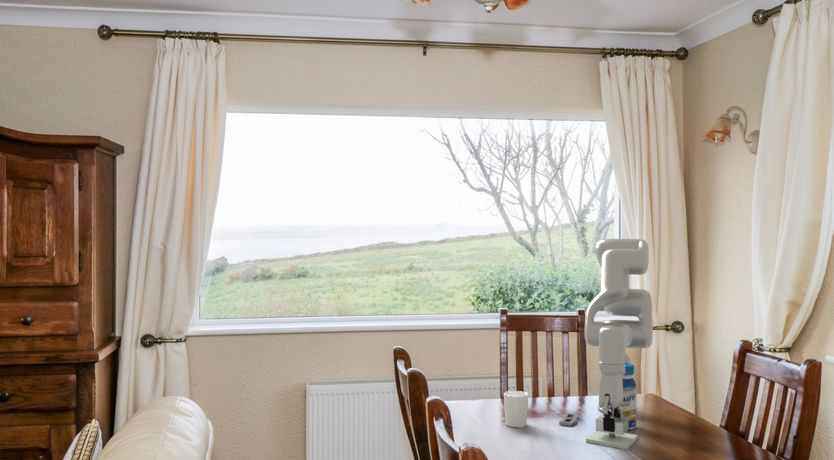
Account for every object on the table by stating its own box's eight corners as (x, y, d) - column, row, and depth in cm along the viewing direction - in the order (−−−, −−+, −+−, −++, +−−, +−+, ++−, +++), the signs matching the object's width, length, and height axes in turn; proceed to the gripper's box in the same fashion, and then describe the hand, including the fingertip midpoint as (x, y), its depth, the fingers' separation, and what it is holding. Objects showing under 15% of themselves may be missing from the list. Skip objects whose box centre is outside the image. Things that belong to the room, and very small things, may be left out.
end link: (595, 431, 198) (595, 419, 198) (601, 426, 203) (601, 414, 203) (622, 435, 194) (622, 423, 194) (628, 430, 199) (628, 418, 199)
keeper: (598, 432, 207) (598, 412, 207) (637, 438, 200) (637, 418, 200) (586, 442, 196) (586, 422, 196) (627, 449, 190) (627, 428, 190)
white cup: (527, 428, 210) (527, 397, 210) (502, 427, 212) (502, 396, 212) (528, 421, 218) (528, 391, 218) (504, 420, 219) (504, 390, 220)
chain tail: (566, 415, 225) (566, 412, 225) (582, 418, 222) (582, 415, 222) (553, 423, 215) (553, 420, 215) (571, 426, 212) (571, 423, 212)
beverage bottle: (636, 424, 215) (636, 362, 215) (637, 431, 207) (636, 367, 207) (609, 421, 218) (609, 360, 218) (608, 429, 210) (608, 365, 210)
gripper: (607, 362, 208) (607, 419, 208) (590, 372, 193) (590, 433, 193) (632, 364, 204) (632, 423, 204) (616, 374, 189) (616, 438, 189)
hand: (612, 427), depth 198 cm, fingers closed on end link, 5 cm apart
